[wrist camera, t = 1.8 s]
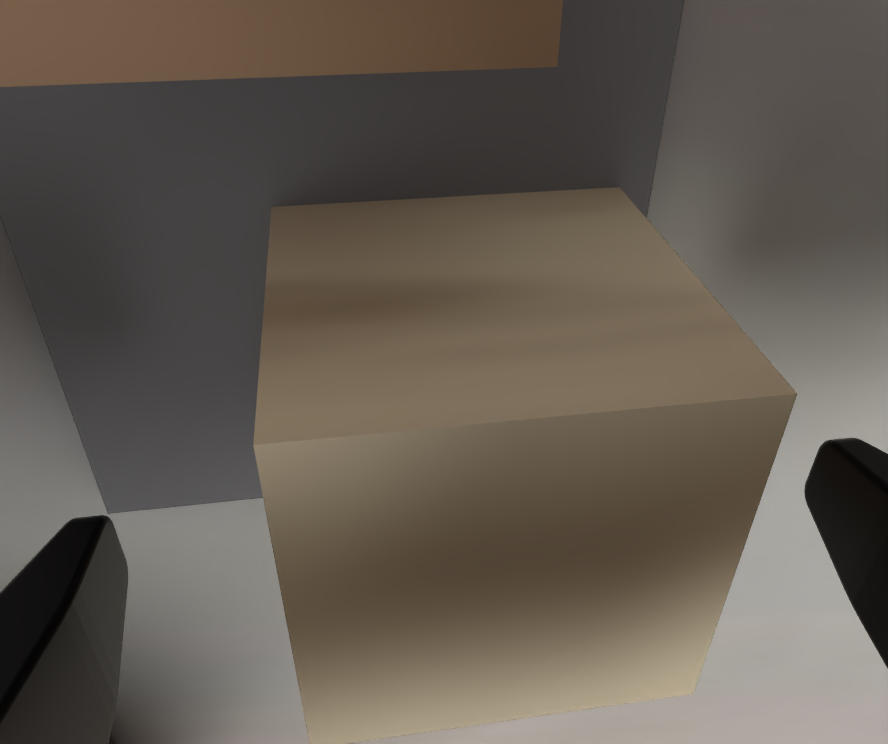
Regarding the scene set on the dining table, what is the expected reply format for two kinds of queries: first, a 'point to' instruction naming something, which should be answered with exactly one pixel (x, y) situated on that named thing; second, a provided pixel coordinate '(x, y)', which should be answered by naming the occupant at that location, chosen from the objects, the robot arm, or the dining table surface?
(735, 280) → the dining table surface
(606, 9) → the mat
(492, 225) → the birch cube
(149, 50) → the brown block
